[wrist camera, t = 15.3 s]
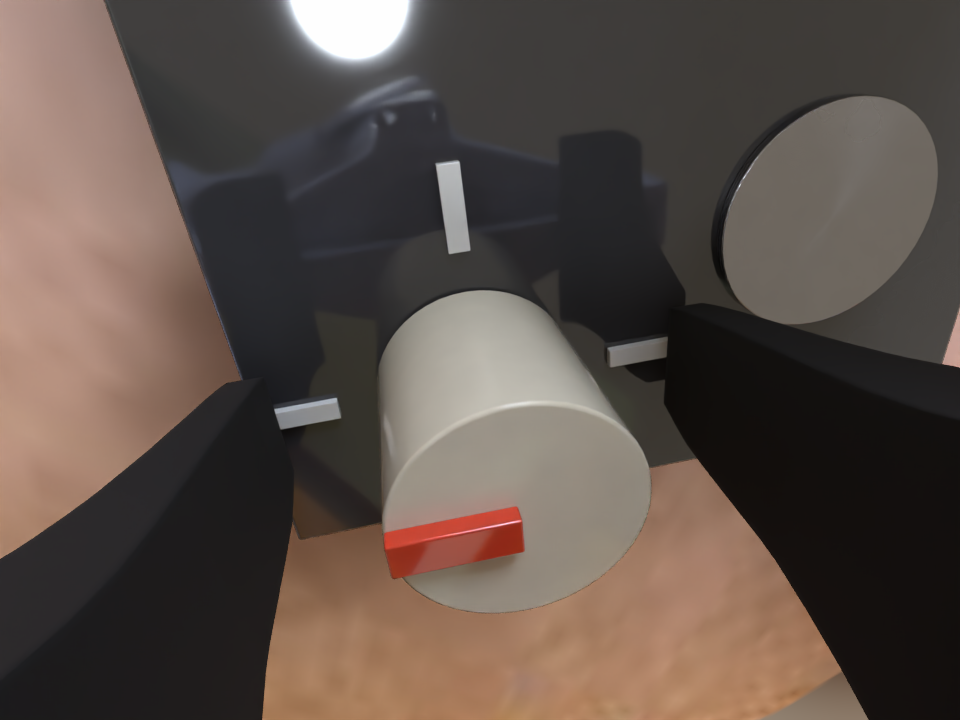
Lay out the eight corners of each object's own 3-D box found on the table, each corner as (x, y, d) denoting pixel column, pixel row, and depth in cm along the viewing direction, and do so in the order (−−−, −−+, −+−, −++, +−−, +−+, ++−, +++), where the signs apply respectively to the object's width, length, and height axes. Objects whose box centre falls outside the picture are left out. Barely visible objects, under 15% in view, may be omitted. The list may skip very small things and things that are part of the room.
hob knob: (568, 273, 10) (672, 391, 7) (573, 441, 12) (656, 601, 9) (357, 307, 10) (354, 449, 6) (395, 476, 12) (408, 657, 8)
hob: (843, 389, 16) (924, 448, 14) (317, 493, 15) (309, 579, 12) (1091, -716, 8) (1404, -1042, 5) (-72, -706, 6) (-322, -1134, 4)
